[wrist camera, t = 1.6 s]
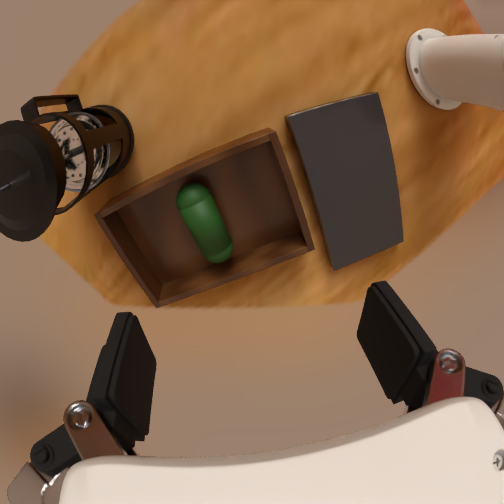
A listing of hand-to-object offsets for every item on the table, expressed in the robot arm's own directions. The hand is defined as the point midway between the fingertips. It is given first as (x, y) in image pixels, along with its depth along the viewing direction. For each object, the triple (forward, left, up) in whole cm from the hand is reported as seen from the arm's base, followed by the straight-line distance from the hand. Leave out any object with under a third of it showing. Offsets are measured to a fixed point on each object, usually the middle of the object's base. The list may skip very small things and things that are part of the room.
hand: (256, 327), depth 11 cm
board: (-14, +7, -24) cm, 29 cm away
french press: (+13, -11, -25) cm, 30 cm away
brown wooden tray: (+5, +4, -24) cm, 25 cm away
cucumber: (+5, +4, -24) cm, 25 cm away
